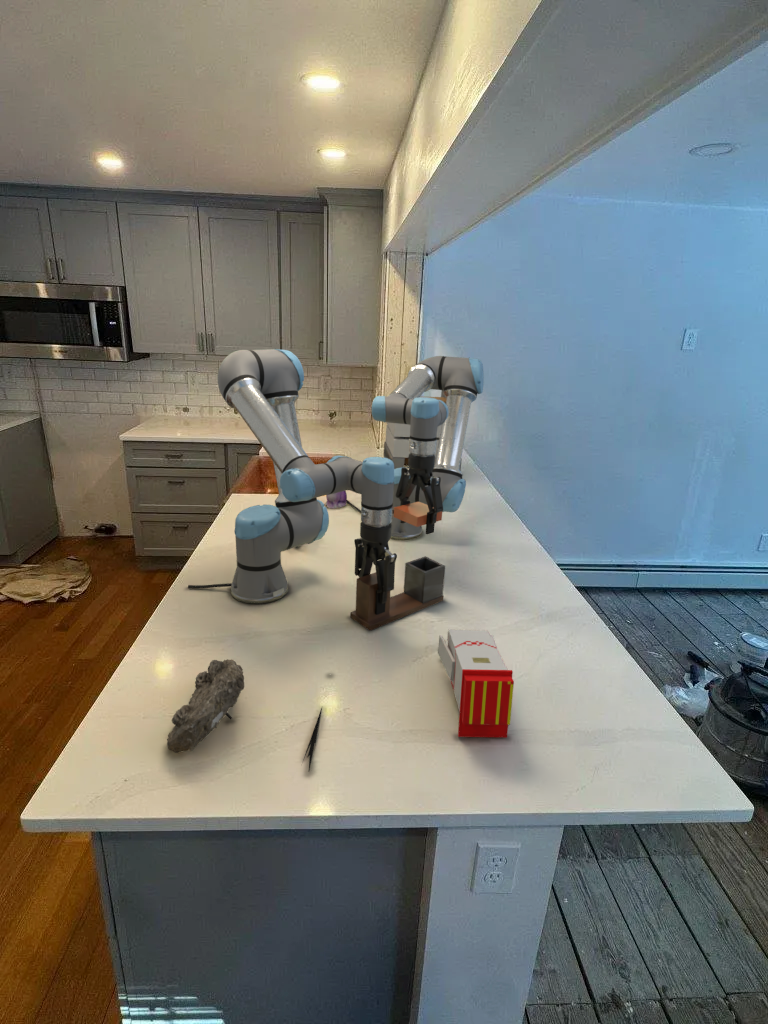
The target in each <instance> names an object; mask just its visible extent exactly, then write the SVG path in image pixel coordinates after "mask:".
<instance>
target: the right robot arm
mask: <svg viewBox="0 0 768 1024" xmlns="http://www.w3.org/2000/svg"><path fill="white" fill-rule="evenodd" d="M484 379H485V375H484V365H483V362H482V360H480V359H479V358H473V357H462V356H461V357H459V356H444V355H436V356H431V357H428V358H425V359H423V360H421V361H419V362H417V363H416V364H414V365H413V366H412V367H411V368H410V369H409V371H408V373H407V376H406V377H405V378H404V379H403V380H402V381H401V382H400V383H399V384H398V385H399V386H398V385H397V386H398V387H397V386H396V388H394V389H393V390H392V392H391V393H389V395H388V396H387V395H386V396H385V395H377V396H374V398H373V400H372V404H371V416H372V419H373V420H374V421H376V422H382V423H383V424H384V423H386V422H388V423H398V424H408V425H410V442H409V452H410V454H409V456H408V466H404V467H402V468H396V469H394V476H395V481H394V489H393V511H392V522H391V524H392V530H391V538H390V539H389V540H395V541H410V540H415V539H418V538H420V537H421V536H422V535H423V526H419V527H416V526H413V525H411V524H409V523H406V522H404V521H402V520H400V519H397V518H395V517H394V507H398V506H402V505H406V504H410V503H414V502H421V503H424V504H426V505H428V508H429V512H427V521H426V525H425V535H430V534H433V533H435V525H436V523H437V522H436V520H437V513H438V512H442V513H445V512H446V513H456V512H457V511H458V510H459V508H460V507H461V505H462V502H463V499H464V496H465V492H466V486H467V482H466V480H465V479H464V478H463V476H464V474H463V473H462V470H461V471H460V470H459V467H460V462H461V458H462V457H463V449H464V444H465V440H466V434H467V428H468V422H469V417H470V412H471V406H472V403H473V402H475V401H476V400H477V399H478V398H477V397H478V395H482V394H483V392H484V383H485V381H484ZM430 390H435V391H436V390H437V391H442V390H444V392H443V395H444V396H445V397H446V404H445V403H444V402H443V401H441V400H437V399H435V398H429V397H430V396H422V395H423V394H424V393H426V392H428V391H430ZM440 425H442V426H441V432H440V437H439V443H438V448H437V453H436V438H437V427H438V426H440ZM435 453H436V459H435V456H434V454H435ZM461 463H462V462H461ZM346 504H348V505H350V506H351V507H352V508H353V509H355V510H356V511H358V512H359V513H360V514H361V509H359V507H357V506H356V505H354V504H353V503H352V502H351V501H349V500H348V499H347V501H346Z"/></svg>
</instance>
